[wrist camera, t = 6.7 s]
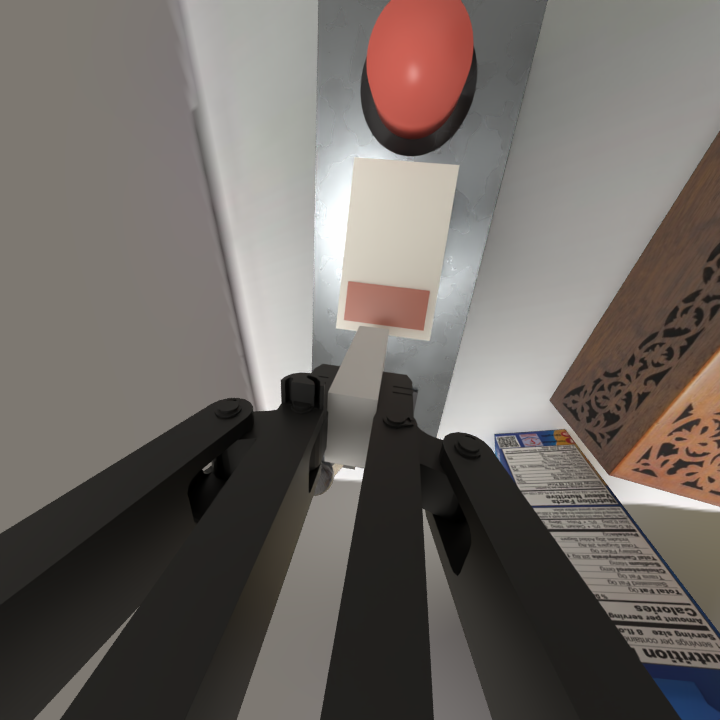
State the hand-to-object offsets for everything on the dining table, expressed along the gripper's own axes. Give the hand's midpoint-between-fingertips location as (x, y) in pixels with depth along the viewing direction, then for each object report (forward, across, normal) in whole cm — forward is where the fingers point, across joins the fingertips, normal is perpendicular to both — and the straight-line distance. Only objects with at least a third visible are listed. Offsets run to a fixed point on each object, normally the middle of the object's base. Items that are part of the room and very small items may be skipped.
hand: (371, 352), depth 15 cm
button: (+8, 0, +13) cm, 16 cm away
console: (+14, 0, +1) cm, 14 cm away
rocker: (+6, 0, +4) cm, 7 cm away
